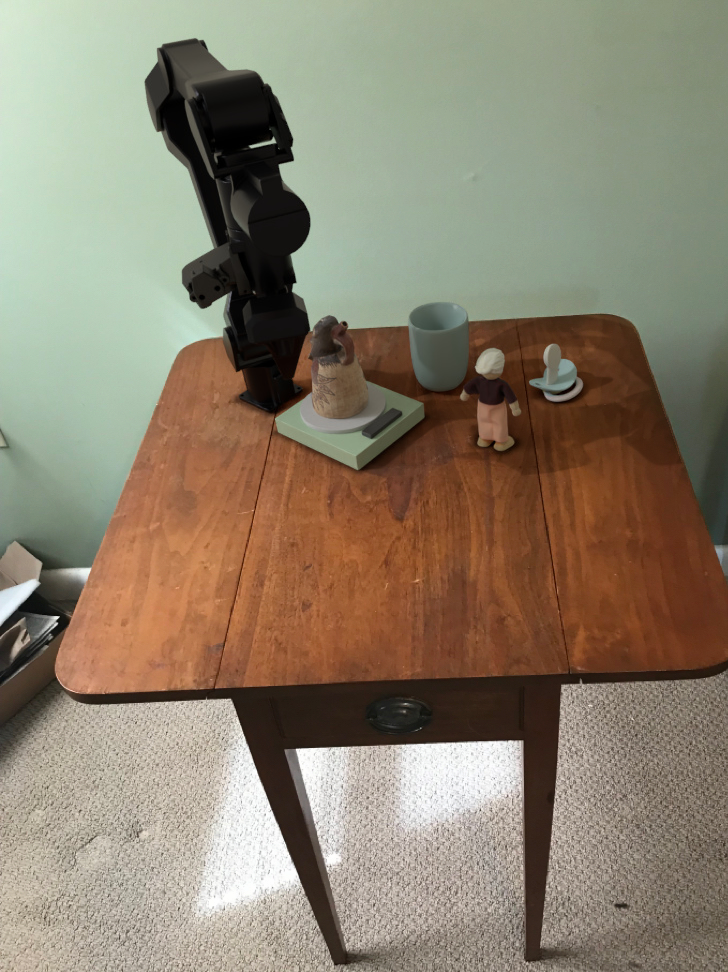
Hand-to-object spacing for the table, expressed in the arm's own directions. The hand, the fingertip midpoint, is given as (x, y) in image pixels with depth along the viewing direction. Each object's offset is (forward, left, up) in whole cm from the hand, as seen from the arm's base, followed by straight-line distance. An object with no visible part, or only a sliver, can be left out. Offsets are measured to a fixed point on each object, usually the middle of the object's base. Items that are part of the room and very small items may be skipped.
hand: (284, 357), depth 87 cm
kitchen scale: (+2, +7, -13) cm, 15 cm away
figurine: (0, +7, -10) cm, 13 cm away
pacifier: (+20, +28, -13) cm, 37 cm away
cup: (+6, +21, -13) cm, 26 cm away
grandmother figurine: (+19, +14, -13) cm, 27 cm away
